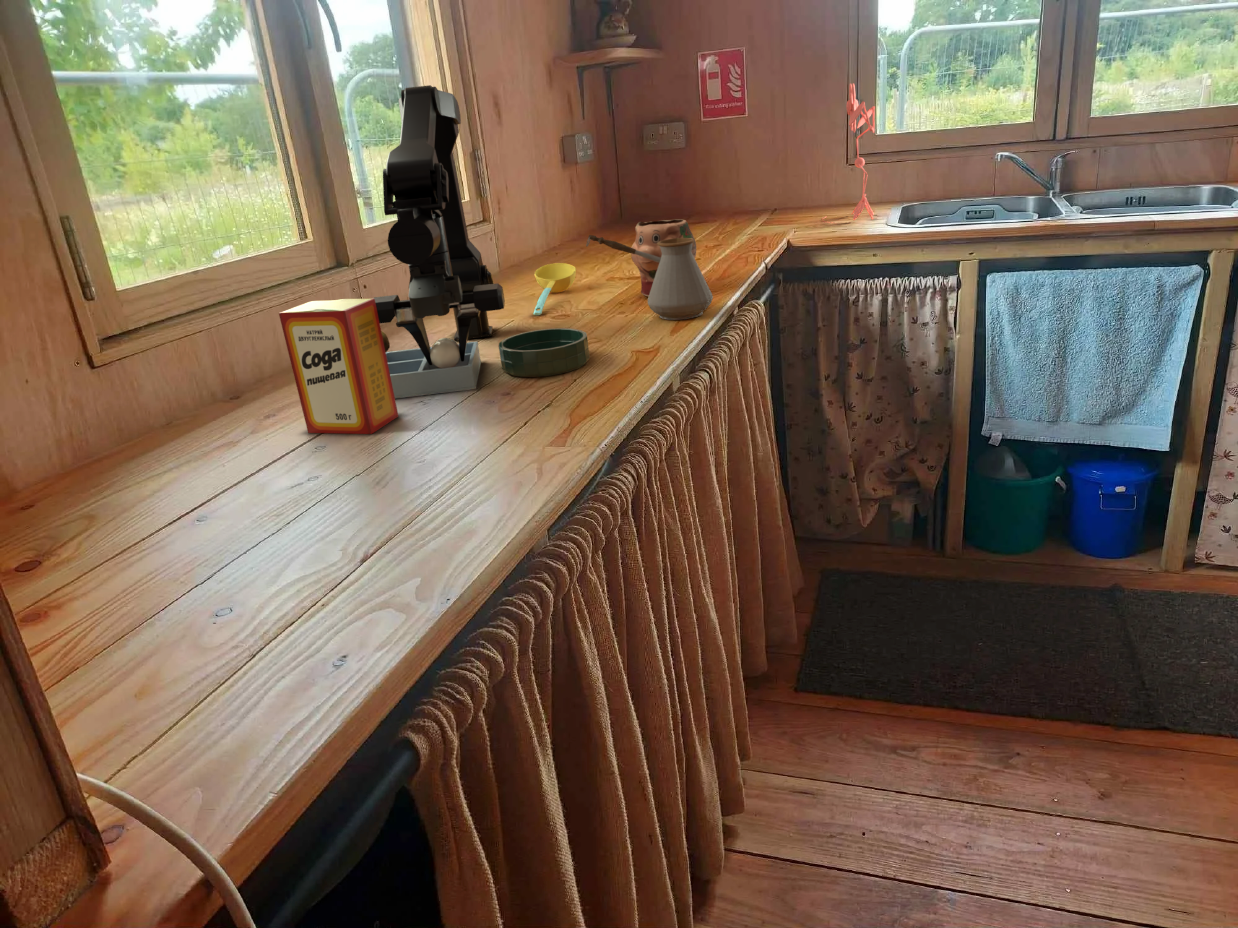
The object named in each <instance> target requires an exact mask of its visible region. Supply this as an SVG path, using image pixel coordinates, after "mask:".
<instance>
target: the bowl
mask: <svg viewBox="0 0 1238 928" xmlns="http://www.w3.org/2000/svg"><path fill="white" fill-rule="evenodd" d="M498 352H499V358H500V366H501V369H502V370H503V371H504V372H505V373H507V374H508V375H510V376H514V377H520V378H542V377H552V376H557V375H562V374H565V373H569V372H572V371H576V370H578V369H580V368H582V367H584V365H586V363H587V362H588V361H589V360H590V348H589V338H588V333H587V332H586V331H584V330H581V329H578V328H577V329H576V328H568V327H567V328H566V327H556V328H555V327H554V328H543V329H535V330H530V331H525V332H521V333H517V334H513V335H511V336H509V337H506V338H503V339H502V340H501V341H500V342H498Z"/></svg>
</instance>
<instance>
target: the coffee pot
mask: <svg viewBox="0 0 1238 928" xmlns="http://www.w3.org/2000/svg"><path fill="white" fill-rule="evenodd" d="M591 241H593V242H598V244H599V245H605V246H608V247H609V248H611V249H613V250H617V251H620V252H624V253H628V254H630V255H631V254H636V255H639V256H641V257H644V258H647V259H650V260H652V261H655V262H658V263H659V266H658V269H657V272H656V275H655V278H654V281H653V284H652V288H651V291H650V294H649V296H647V297H648V298H647V306H648V308H649V309H650V310H651V311H652V312H653V313H655V314H656V315H658V316H659V318H660V319H662V320H666V321H667V320H668V321H676V320H677V321H678V320H679V321H680V320H687V319H688V320H689V319H694V318H697V317H700V316H702V315H703V314H704V311H706V310H707V309H708V308H709V307H710V305H711V304H712V301H713V299H714V295H713V293H712V291H711V289H710V287H709V284H708V282H707V281H706V279H705V276H704V274H703V273H702V270H701V268H700V267H699V265H698V264H699V263H698V262H697V261H696V257H695V258H694V256H693V254H692V252H691V250H692V243H693V242H694V241H695V242H696V239H695V240H694V239H693V238H674V239H667V240H663V241H659V242H657V245H658V246H660V249H661V252H662V256H661V257H657V256H654V255H651V254H647V253H644V252H641V251H638V250H636V249H633V248H631V247H632V246H628V245H625V244H623V243H620V242H618V241H616V240H609V239H604V237H602V236H601V237H598V236H596V235H592V234H589V235H588V237H587V240H586V244H585V247H587V248H588V247H589V245H590V242H591Z"/></svg>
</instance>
